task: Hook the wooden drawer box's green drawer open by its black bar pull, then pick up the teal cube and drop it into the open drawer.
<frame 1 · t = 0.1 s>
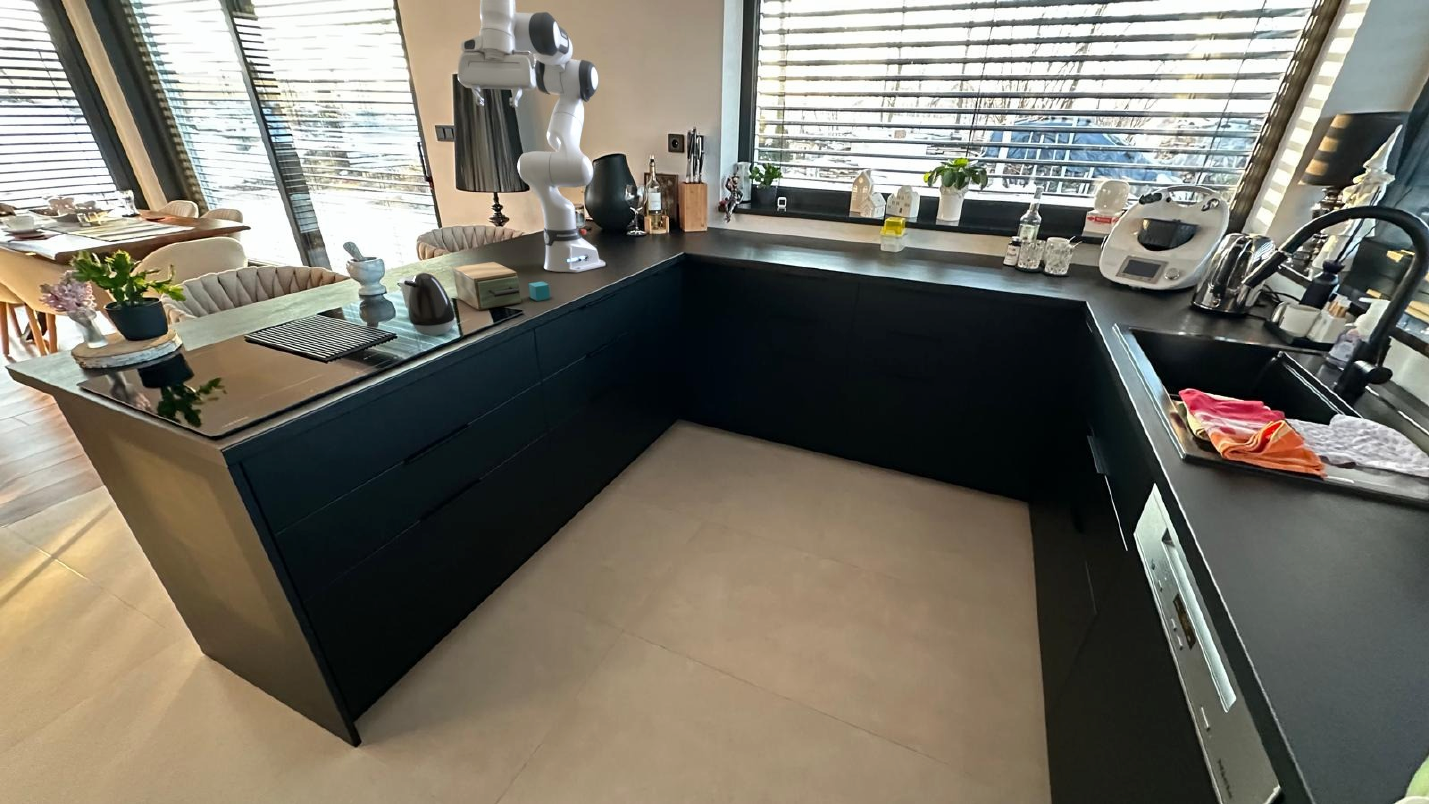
hand: (496, 105, 148), 52 cm above the counter, tool tilted 20°, fingers open, 8 cm apart
pump dispenser: (435, 333, 141), on the counter
green drawer: (493, 288, 162), point 5 cm above the counter, slide at 0.5 cm
wooden drawer box: (489, 300, 167), on the counter
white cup: (423, 316, 152), on the counter
teal cube: (540, 298, 170), on the counter
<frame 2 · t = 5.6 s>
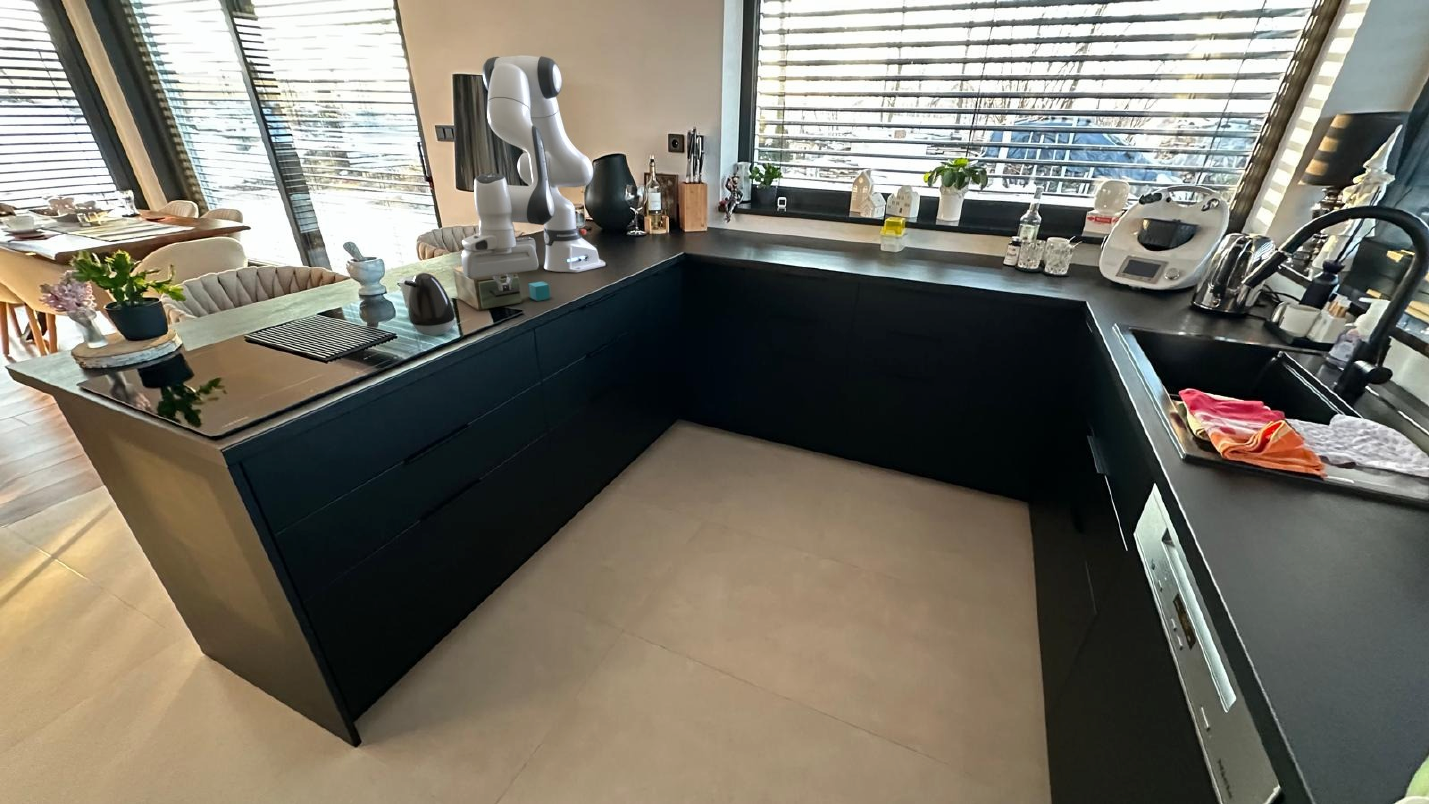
hand: (505, 290, 155), 6 cm above the counter, tool pointing down, fingers closed, pressing on green drawer
green drawer: (493, 288, 161), point 5 cm above the counter, slide at 0.8 cm, touching gripper
everything else where it was.
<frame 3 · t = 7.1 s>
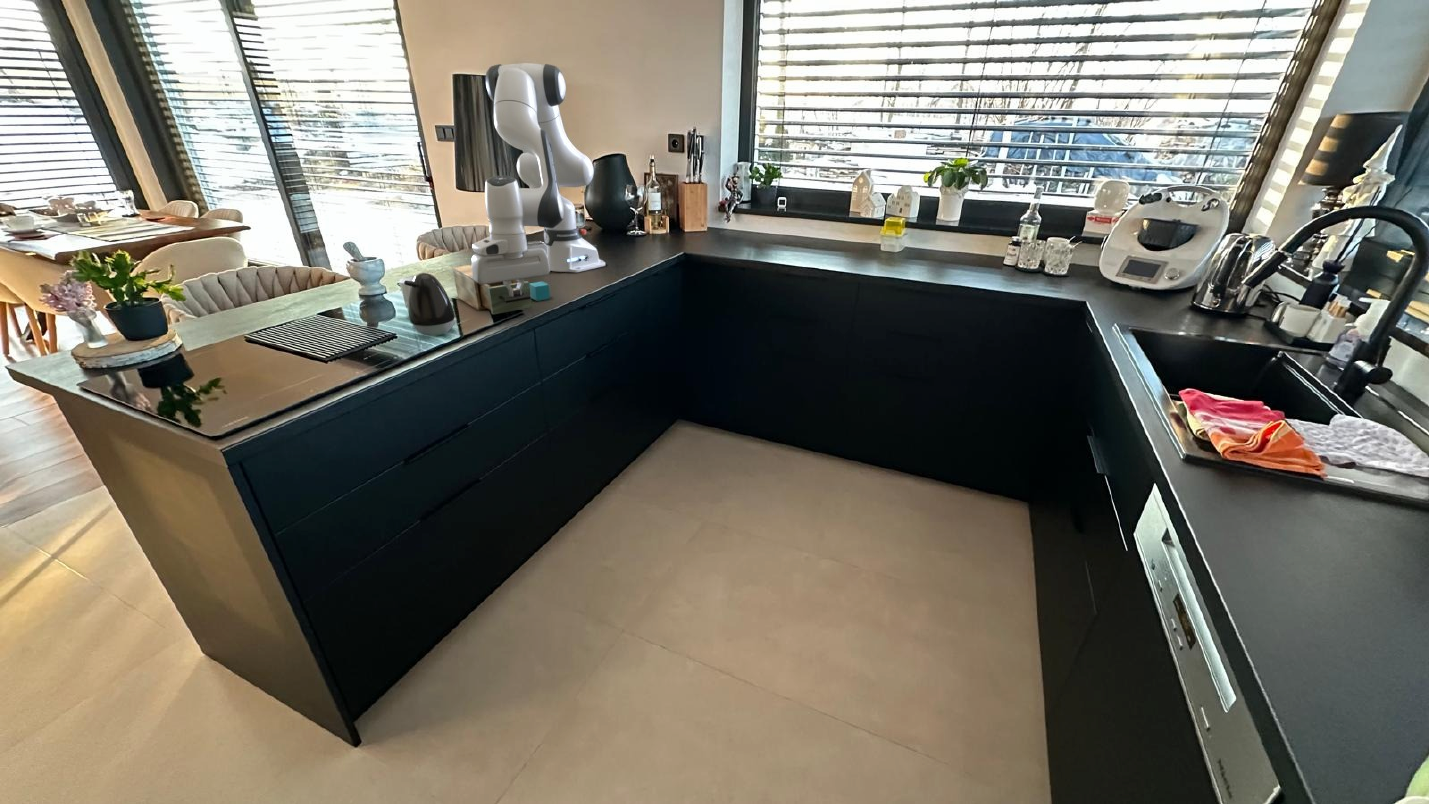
hand: (515, 295, 151), 6 cm above the counter, tool pointing down, fingers closed, pressing on green drawer
green drawer: (503, 294, 157), point 5 cm above the counter, slide at 7.4 cm, touching gripper
everything else where it was.
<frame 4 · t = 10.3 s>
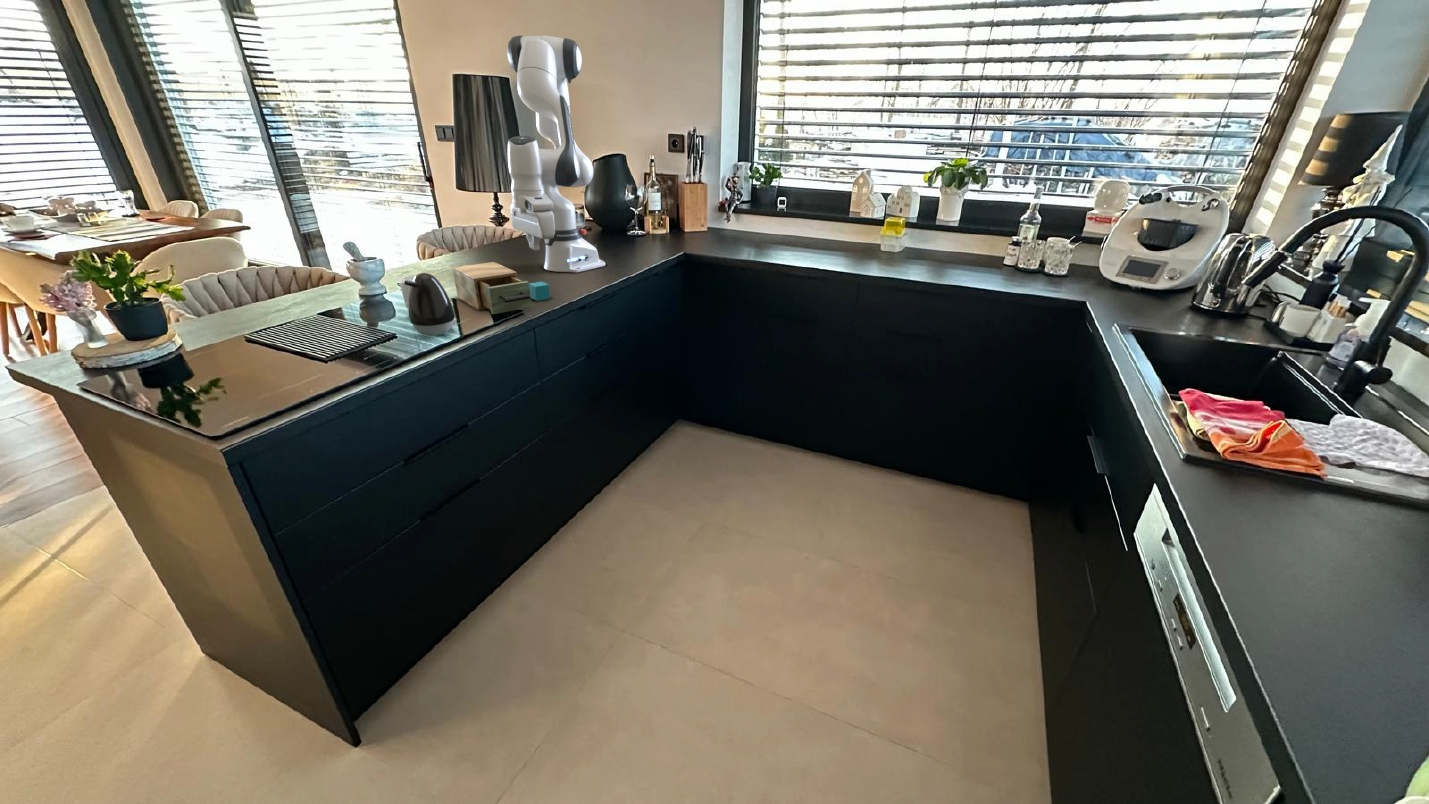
hand: (534, 249, 163), 15 cm above the counter, tool pointing down, fingers closed
green drawer: (503, 293, 157), point 5 cm above the counter, slide at 7.2 cm
everything else where it was.
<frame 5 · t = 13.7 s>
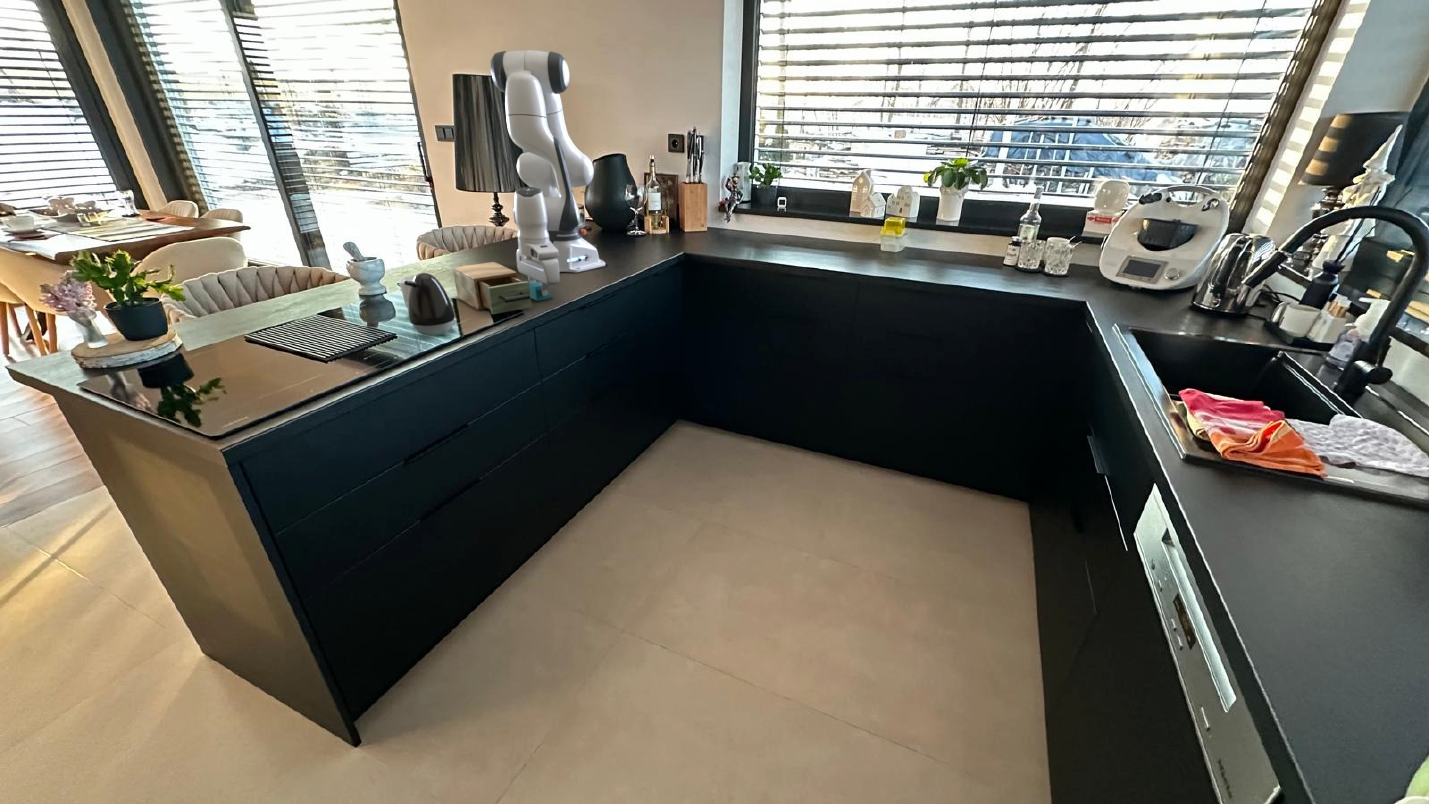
hand: (539, 292, 169), 2 cm above the counter, tool pointing down, fingers closed on teal cube, 4 cm apart
teal cube: (540, 298, 170), on the counter, touching gripper
everything else where it was.
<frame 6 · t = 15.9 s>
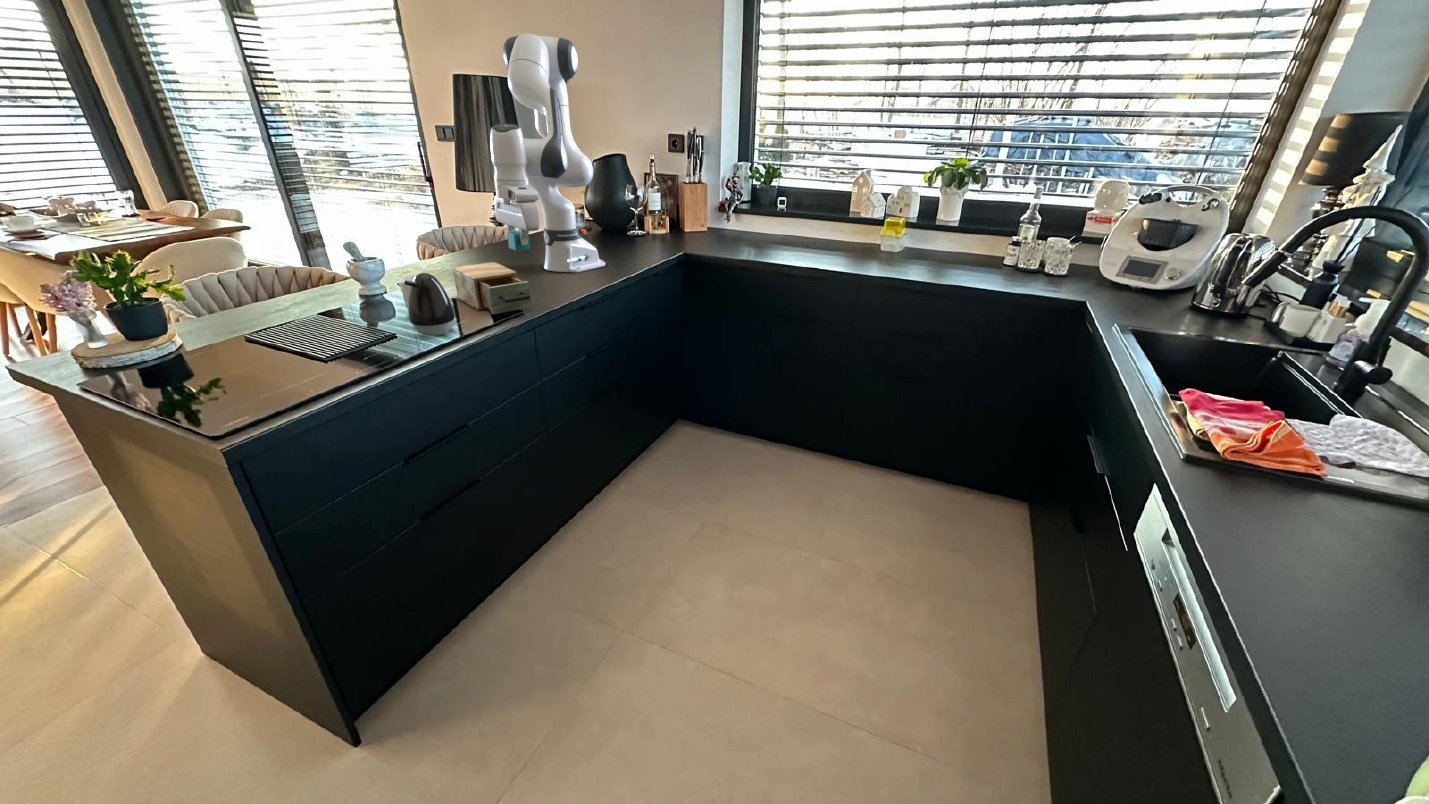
hand: (519, 242, 157), 18 cm above the counter, tool pointing down, fingers closed on teal cube, 4 cm apart
teal cube: (519, 248, 158), point 16 cm above the counter, touching gripper
everything else where it was.
when the fingers open (13 cm above the counter, at t = 18.3 s): teal cube drops 9 cm, resting on green drawer.
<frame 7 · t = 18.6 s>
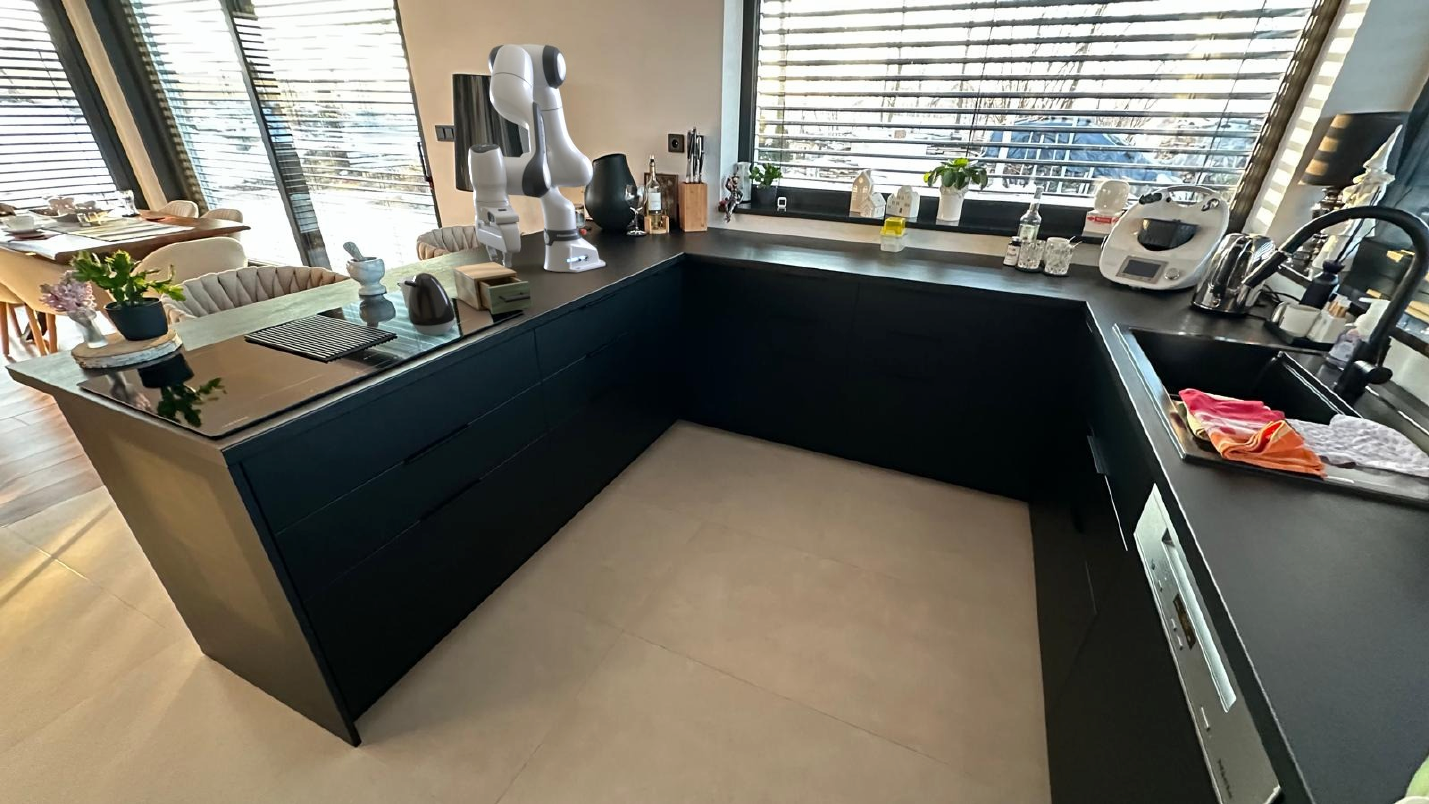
hand: (500, 264, 153), 13 cm above the counter, tool pointing down, fingers open, 7 cm apart
green drawer: (503, 293, 157), point 5 cm above the counter, slide at 7.3 cm, touching teal cube
teal cube: (505, 301, 158), point 3 cm above the counter, tilted 16°, touching green drawer
everything else where it was.
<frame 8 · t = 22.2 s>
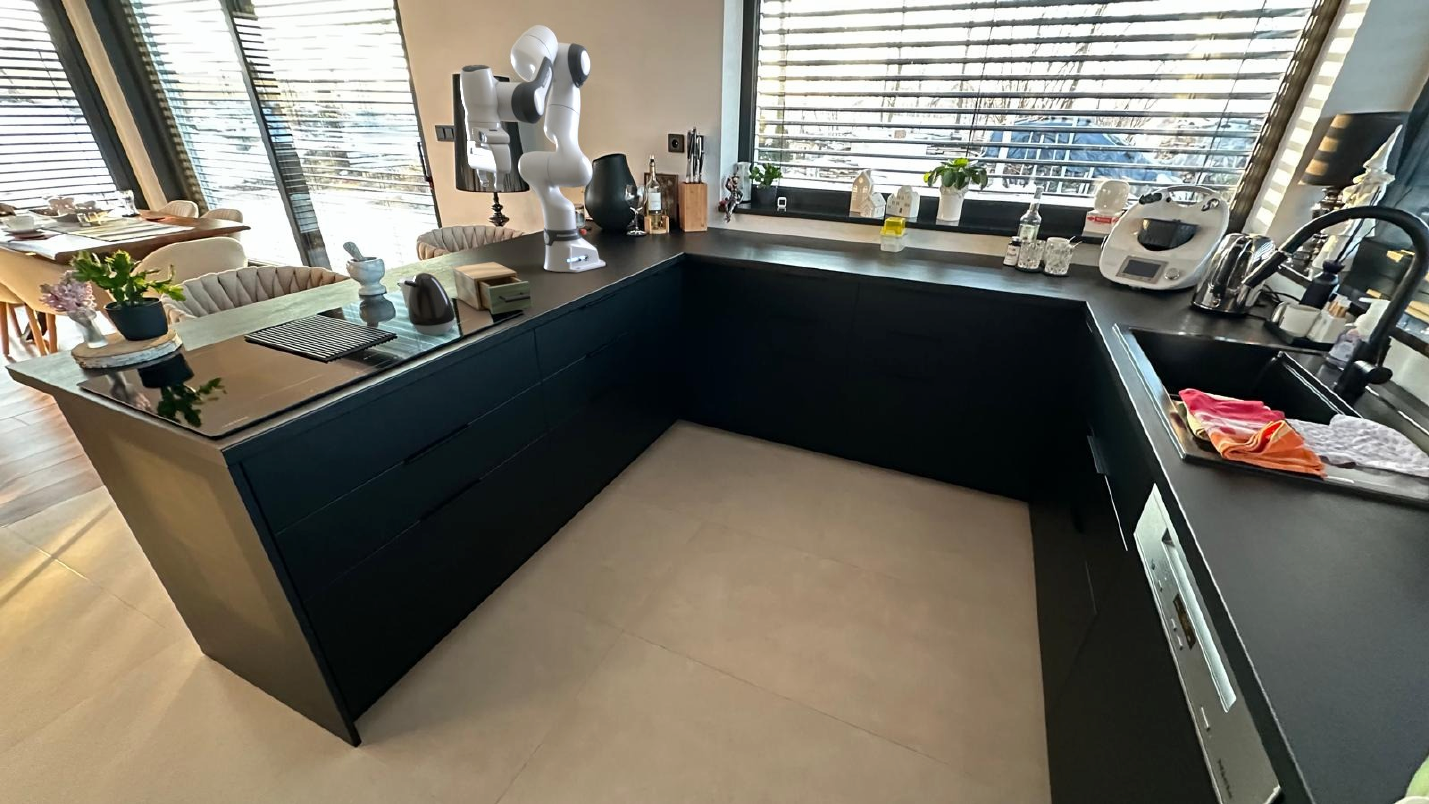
hand: (492, 188, 157), 31 cm above the counter, tool pointing down, fingers open, 8 cm apart
teal cube: (506, 303, 158), point 2 cm above the counter, touching green drawer
everything else where it was.
at the end: green drawer slide at 7.3 cm; teal cube inside the target area in the green drawer (2.7 cm from its centre), point 2.0 cm above the wooden drawer box's base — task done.
